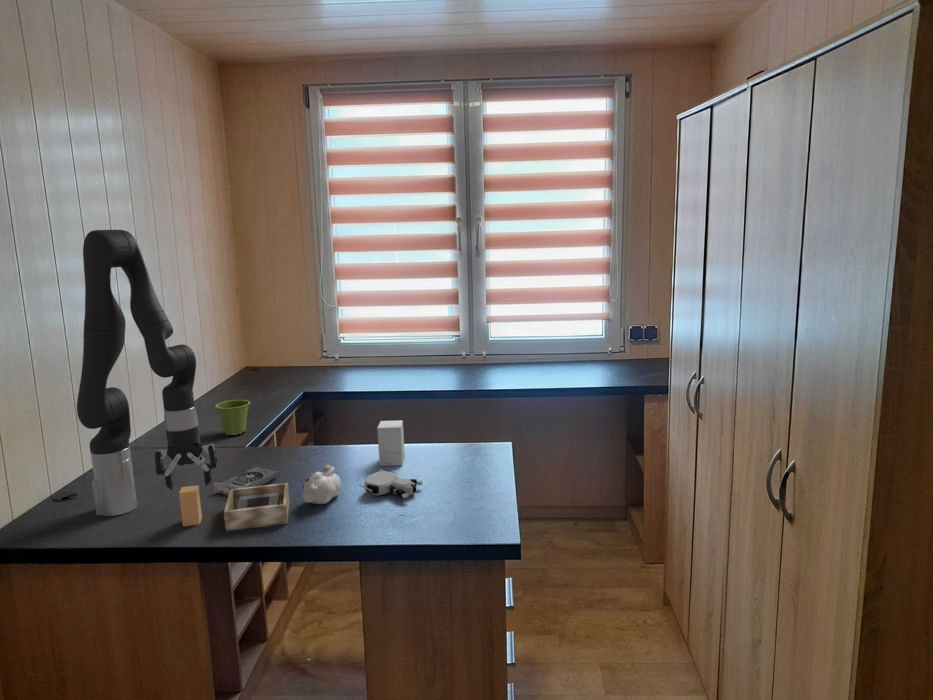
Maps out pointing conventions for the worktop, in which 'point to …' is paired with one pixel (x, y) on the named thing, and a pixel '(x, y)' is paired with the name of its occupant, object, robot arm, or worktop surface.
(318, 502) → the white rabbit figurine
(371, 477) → the robot toy
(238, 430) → the plant pot
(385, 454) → the supplement box
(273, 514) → the walled box
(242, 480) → the graphics card
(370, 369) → the worktop surface
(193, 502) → the orange rectangular block
